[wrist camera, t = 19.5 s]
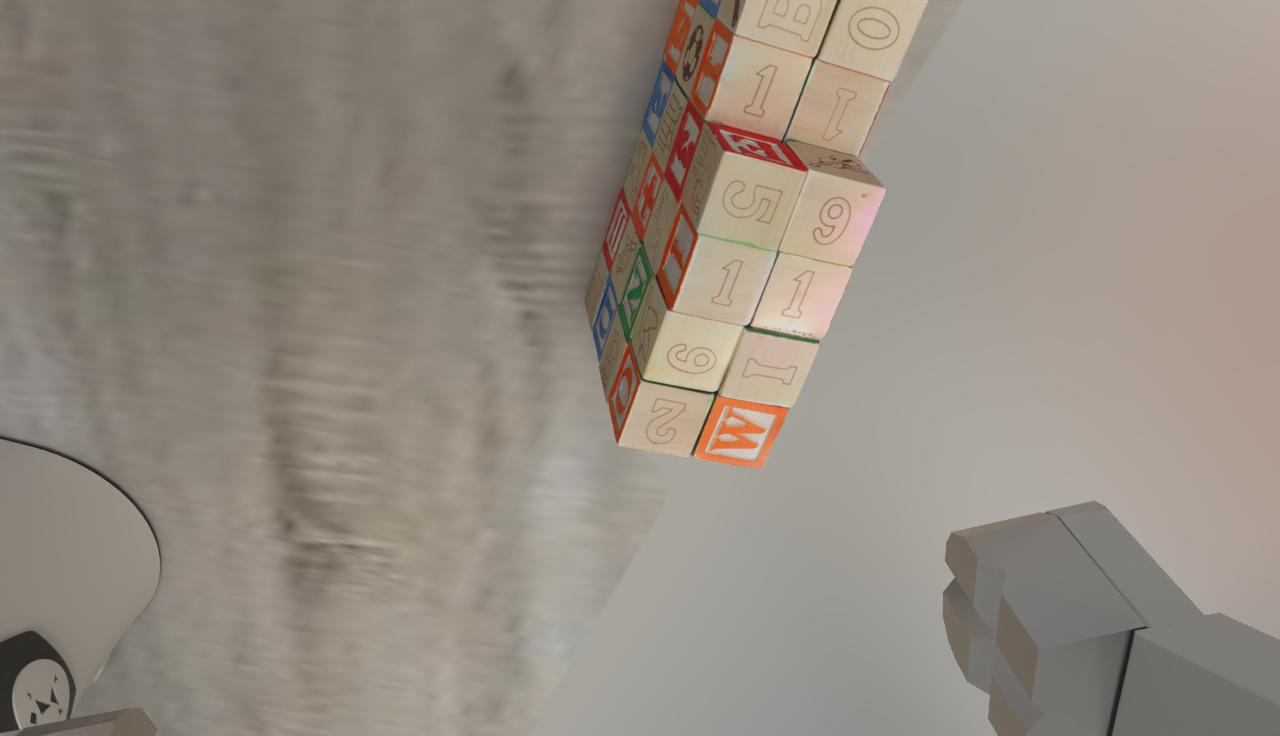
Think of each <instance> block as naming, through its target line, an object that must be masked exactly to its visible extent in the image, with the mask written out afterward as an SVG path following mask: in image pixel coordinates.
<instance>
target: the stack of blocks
mask: <svg viewBox="0 0 1280 736" xmlns="http://www.w3.org/2000/svg"><path fill="white" fill-rule="evenodd" d="M927 2H928V0H681V1H680V4H679V8H678V11H677V14H676V17H675V20H674V23H673V26H672V29H671V32H670V36H669V39H668V42H667V45H666V48H665V51H664V54H663V58H664V61H663V64H662V66H661V69H660V72H659V76H658V79H657V82H656V85H655V88H654V91H653V94H652V97H651V101H650V104H649V107H648V110H647V113H646V116H645V119H644V124H643V128H642V131H641V133H640V136H639V139H638V142H637V146H636V149H635V152H634V155H633V158H632V161H631V164H630V168H629V171H628V174H627V177H626V180H625V184H624V187H623V188H622V189H621V191H620V194H619V197H618V200H617V203H616V206H615V209H614V212H613V216H612V219H611V222H610V225H609V228H608V231H607V234H606V237H605V240H604V243H603V246H602V249H601V251H600V254H599V257H598V260H597V263H596V266H595V269H594V272H593V275H592V278H591V282H590V285H589V288H588V291H587V294H586V297H585V305H586V309H587V312H588V316H589V322H590V327H591V330H593V336H594V341H595V345H596V349H597V354H598V360H599V363H600V364H599V370H600V374H601V380H602V384H603V389H604V394H605V398H606V402H607V404H609V409H610V414H611V419H612V423H613V428H614V434H615V438H616V441H617V444H618V445H619V446H621V447H628V448H634V449H640V450H646V451H651V452H657V453H663V454H668V455H674V456H678V457H683V458H688V457H689V456H690V455H691V454H692V456H693V457H694V458H697V459H701V460H704V461H712V462H719V463H725V464H730V465H737V466H744V467H751V468H763V467H764V464H765V462H766V460H767V458H768V456H769V454H770V451H771V449H772V447H773V445H774V442H775V440H776V438H777V435H778V434H779V432H780V430H781V427H782V425H783V422H784V420H785V418H786V416H787V414H788V411H789V407H792V406H793V405H794V404H795V403H796V400H797V398H798V395H799V393H800V391H801V389H802V386H803V384H804V381H805V379H806V377H807V375H808V373H809V370H810V368H811V366H812V363H813V361H814V358H815V356H816V354H817V351H818V349H819V339H821V338H823V337H824V336H825V335H826V333H827V331H828V328H829V326H830V325H831V322H832V320H833V317H834V315H835V312H836V310H837V308H838V306H839V303H840V301H841V298H842V296H843V294H844V291H845V289H846V287H847V284H848V282H849V280H850V278H851V275H852V266H853V265H854V264H855V263H856V261H857V259H858V257H859V254H860V252H861V249H862V247H863V245H864V243H865V240H866V238H867V236H868V233H869V231H870V229H871V227H872V224H873V222H874V220H875V217H876V215H877V213H878V210H879V208H880V205H881V203H882V201H883V198H884V196H885V194H886V190H887V188H886V187H885V186H884V185H882V184H881V182H880V181H879V180H878V179H877V178H876V177H875V176H874V175H873V174H872V173H871V172H870V171H869V170H868V169H867V168H866V167H865V165H864V164H863V163H862V162H861V161H860V160H859V159H858V157H859V155H860V153H861V151H862V148H863V146H864V143H865V141H866V139H867V136H868V134H869V132H870V129H871V127H872V125H873V122H874V120H875V118H876V115H877V113H878V111H879V108H880V106H881V104H882V102H883V99H884V97H885V95H886V92H887V90H888V87H889V84H890V82H891V81H893V80H894V78H895V77H896V74H897V72H898V70H899V67H900V65H901V63H902V60H903V58H904V56H905V54H906V51H907V49H908V47H909V44H910V42H911V40H912V37H913V35H914V33H915V30H916V28H917V26H918V23H919V21H920V19H921V16H922V14H923V12H924V9H925V7H926V5H927Z"/></svg>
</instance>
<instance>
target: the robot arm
mask: <svg viewBox="0 0 1280 736" xmlns="http://www.w3.org/2000/svg"><path fill="white" fill-rule="evenodd" d="M945 561H946V563H947V565H948V566H949V568H950V570H951V571H952V573H953V574H954V576H955V578H954V579H953V581H952V582H951V583H950V584H949V586H948V587H947V588H946V589H945V590H944V592H943V618H944V623H945V627H946V632H947V637H948V641H949V644H950V646H951V649H952V651H953V654H954V656H955V659H956V661H957V663H958V665H959V667H960V669H961V671H962V672H963V674H964V676H965V678H966V680H967V681H968V682H969V683H971V684H972V685H974V686H976V687H977V688H979V689H981V690H983V691H984V692H986V693H987V694H989V695H990V702H989V715H988V719H989V721H990V723H991V724H992V726H993V728H994V730H995V731H996V733H997V735H998V736H1280V640H1279V639H1276V638H1274V637H1272V636H1270V635H1268V634H1265V633H1263V632H1261V631H1259V630H1257V629H1254V628H1252V627H1250V626H1248V625H1245V624H1243V623H1241V622H1239V621H1237V620H1234V619H1232V618H1230V617H1228V616H1225V615H1223V614H1221V613H1217V614H1211V615H1205V616H1204V615H1203V613H1202V612H1201V611H1200V610H1199V609H1198V608H1197V607H1196V606H1195V605H1194V603H1193V602H1192V601H1191V600H1190V599H1189V598H1188V597H1187V596H1186V595H1185V594H1184V593H1183V591H1182V590H1181V589H1180V588H1179V587H1178V586H1177V585H1176V584H1175V583H1174V581H1173V580H1172V579H1171V578H1170V577H1169V576H1168V575H1167V574H1166V573H1165V572H1164V570H1163V569H1162V568H1161V567H1160V566H1159V565H1158V564H1157V563H1156V562H1155V560H1154V559H1153V558H1152V557H1151V556H1150V555H1149V554H1148V553H1147V552H1146V551H1145V550H1144V548H1143V547H1142V546H1141V545H1140V544H1139V543H1138V542H1137V541H1136V540H1135V538H1134V537H1133V536H1132V535H1131V534H1130V533H1129V532H1128V531H1127V530H1126V529H1125V527H1124V526H1123V525H1122V524H1121V523H1120V522H1119V521H1118V520H1117V519H1116V517H1115V516H1114V515H1113V514H1112V513H1111V512H1110V511H1109V510H1108V509H1107V508H1106V506H1104V505H1102V504H1100V503H1098V502H1096V501H1091V502H1086V503H1082V504H1077V505H1073V506H1068V507H1064V508H1059V509H1055V510H1050V511H1047V512H1045V513H1036V514H1031V515H1027V516H1022V517H1018V518H1013V519H1009V520H1004V521H1000V522H995V523H991V524H986V525H982V526H978V527H973V528H969V529H965V530H960V531H955V532H952V533H951V534H950V536H949V538H948V540H947V543H946V555H945ZM159 575H160V556H159V551H158V547H157V543H156V540H155V538H154V535H153V533H152V531H151V529H150V527H149V525H148V524H147V522H146V520H145V519H144V517H143V516H142V515H141V513H140V512H139V511H138V510H137V508H136V507H135V506H134V505H133V504H132V503H131V502H130V501H129V500H128V499H127V498H126V497H125V496H124V495H123V494H122V493H121V492H120V491H119V490H118V489H116V488H115V487H114V486H113V485H111V484H110V483H109V482H107V481H106V480H104V479H103V478H102V477H100V476H98V475H97V474H95V473H94V472H92V471H90V470H88V469H87V468H85V467H83V466H81V465H79V464H77V463H75V462H73V461H71V460H68V459H66V458H63V457H61V456H59V455H56V454H53V453H50V452H47V451H45V450H41V449H38V448H34V447H31V446H27V445H23V444H19V443H14V442H10V441H6V440H3V439H0V736H155V735H156V732H157V729H156V727H155V726H154V725H153V723H152V722H151V720H150V719H149V718H148V716H147V715H146V714H145V712H144V711H143V710H142V708H133V709H122V710H117V711H112V712H106V713H101V714H96V715H90V716H85V717H80V718H74V719H70V718H71V716H72V714H73V713H74V711H75V709H76V708H77V706H78V704H79V703H80V701H81V699H82V698H83V696H84V694H85V693H86V691H87V689H88V688H89V686H90V684H92V683H94V682H95V681H96V680H97V679H98V678H99V677H100V675H101V673H102V672H103V670H104V668H105V666H106V665H107V663H108V661H109V658H110V656H111V653H112V650H113V649H114V648H115V646H116V645H117V643H118V642H119V640H120V639H121V638H122V636H123V635H124V634H125V632H126V631H127V630H128V629H129V627H130V626H131V625H132V623H133V622H134V621H135V620H136V619H137V618H138V617H139V615H140V614H141V613H142V612H143V611H144V609H145V608H146V607H147V605H148V604H149V602H150V601H151V599H152V597H153V595H154V593H155V591H156V588H157V585H158V581H159Z"/></svg>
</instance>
